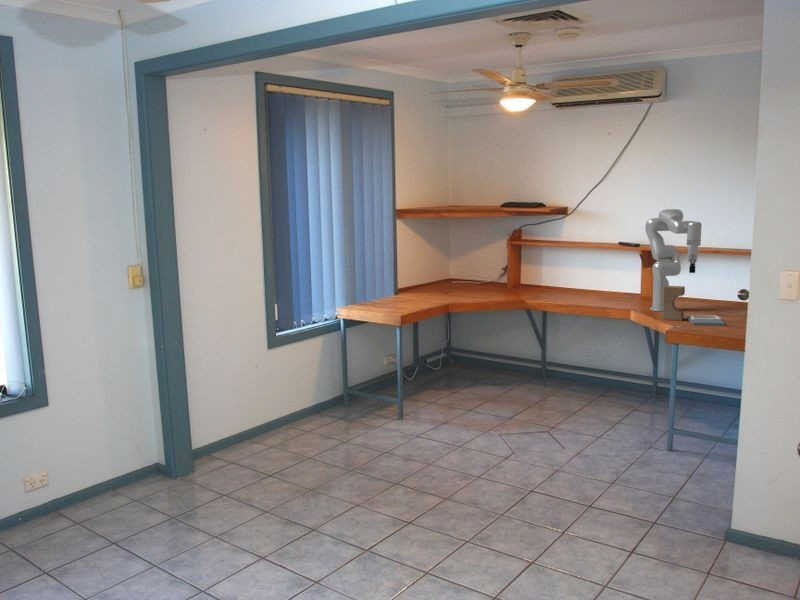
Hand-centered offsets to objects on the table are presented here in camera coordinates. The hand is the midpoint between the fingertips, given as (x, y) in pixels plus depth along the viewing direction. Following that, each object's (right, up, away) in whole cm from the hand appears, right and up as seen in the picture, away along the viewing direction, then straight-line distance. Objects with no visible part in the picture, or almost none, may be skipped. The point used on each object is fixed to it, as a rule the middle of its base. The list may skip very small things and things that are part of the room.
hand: (692, 271), depth 402 cm
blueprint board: (+7, -29, -1) cm, 30 cm away
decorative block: (-9, -29, +7) cm, 31 cm away
